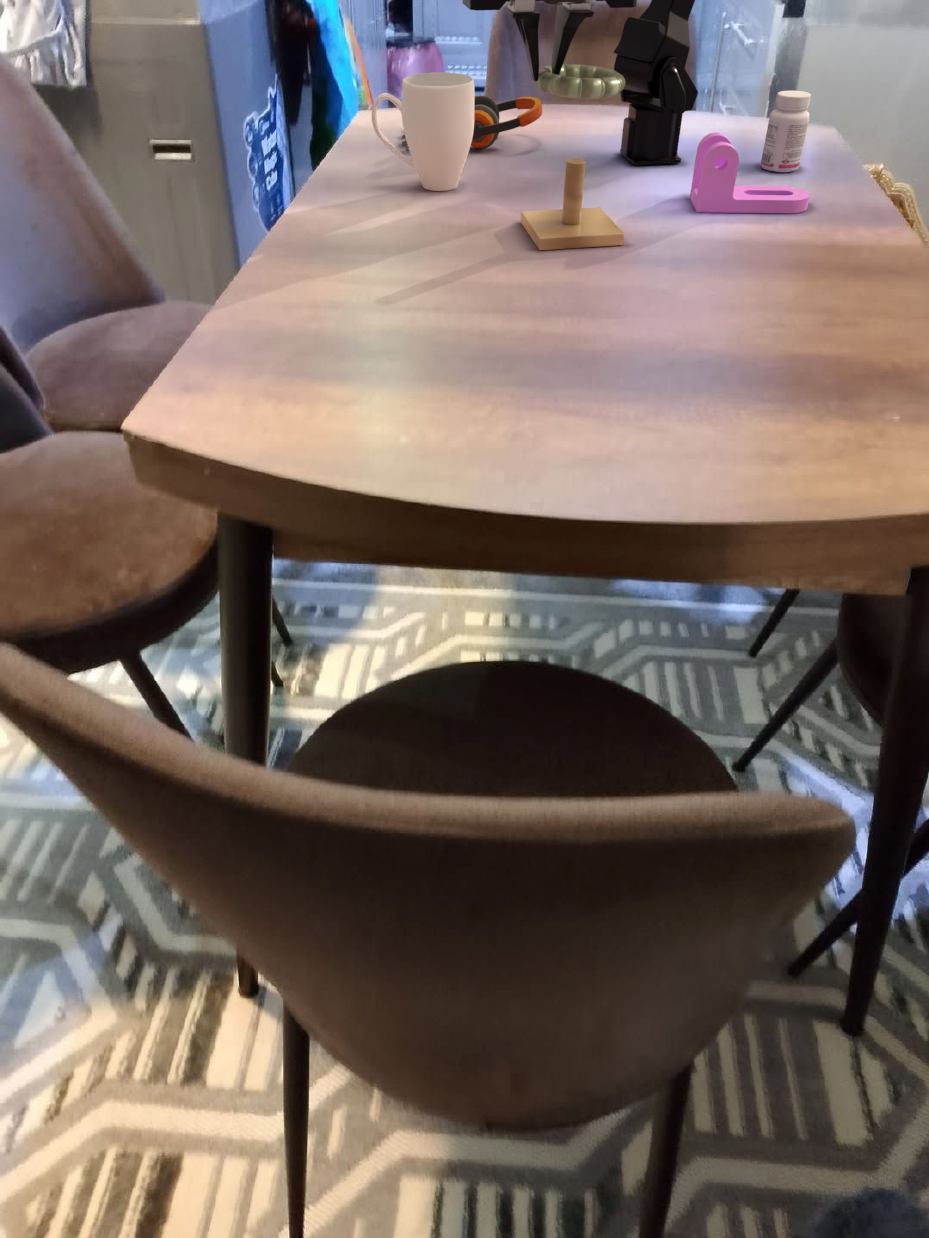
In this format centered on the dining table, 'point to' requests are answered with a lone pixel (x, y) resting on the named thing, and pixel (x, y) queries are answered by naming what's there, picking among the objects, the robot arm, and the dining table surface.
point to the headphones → (489, 118)
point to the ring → (581, 81)
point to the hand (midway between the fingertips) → (544, 80)
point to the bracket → (722, 195)
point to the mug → (434, 125)
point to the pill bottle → (786, 132)
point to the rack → (572, 219)
